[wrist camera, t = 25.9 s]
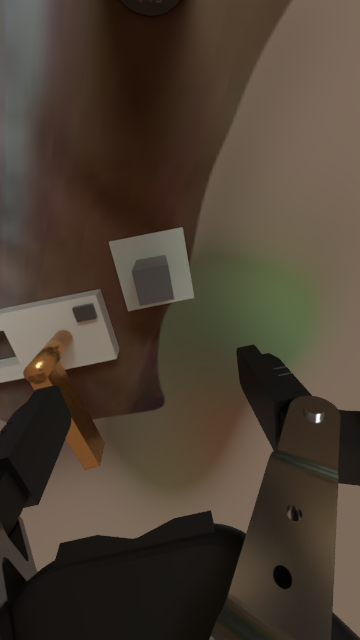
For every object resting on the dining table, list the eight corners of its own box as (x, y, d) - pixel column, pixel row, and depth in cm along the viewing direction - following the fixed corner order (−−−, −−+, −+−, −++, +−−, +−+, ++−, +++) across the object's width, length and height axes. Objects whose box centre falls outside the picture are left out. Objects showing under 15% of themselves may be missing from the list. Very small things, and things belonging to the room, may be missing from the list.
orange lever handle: (98, 419, 40) (83, 470, 32) (51, 332, 34) (18, 368, 26) (112, 415, 40) (101, 465, 32) (68, 327, 34) (40, 362, 26)
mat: (109, 241, 33) (108, 241, 33) (182, 227, 33) (182, 227, 33) (128, 310, 37) (128, 311, 37) (193, 297, 37) (194, 297, 37)
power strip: (-54, 319, 35) (-77, 330, 31) (100, 288, 35) (94, 296, 32) (-19, 377, 39) (-36, 393, 35) (119, 349, 39) (115, 361, 36)
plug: (136, 259, 34) (131, 271, 27) (165, 254, 34) (168, 264, 27) (143, 287, 35) (139, 305, 28) (170, 282, 36) (174, 299, 28)
